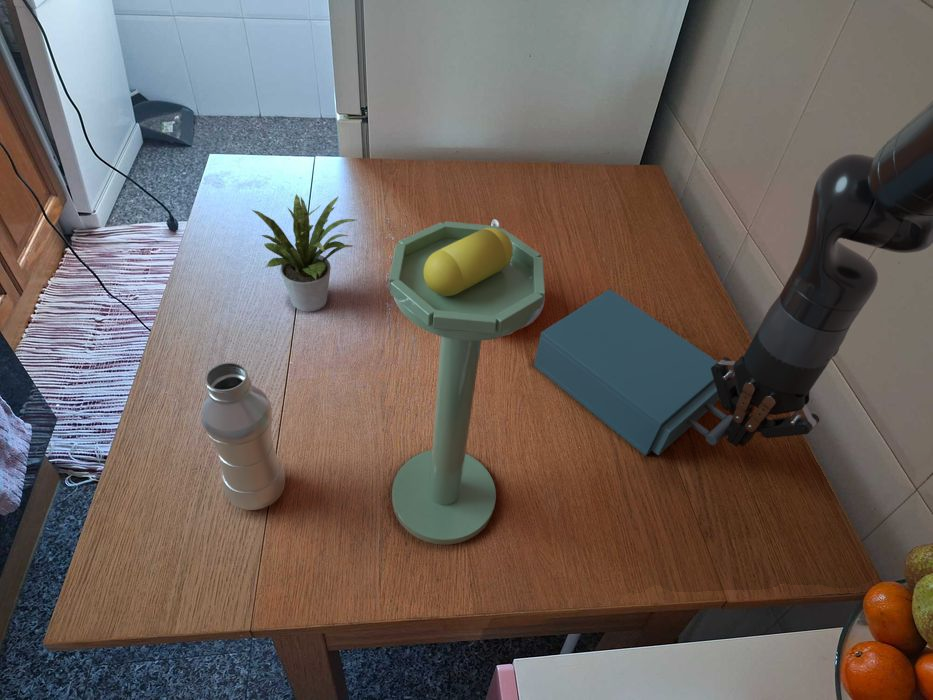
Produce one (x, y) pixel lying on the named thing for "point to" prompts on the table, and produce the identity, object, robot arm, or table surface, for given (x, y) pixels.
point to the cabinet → (623, 367)
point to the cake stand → (456, 378)
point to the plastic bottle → (242, 437)
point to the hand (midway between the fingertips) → (735, 440)
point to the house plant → (304, 255)
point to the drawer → (693, 421)
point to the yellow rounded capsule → (467, 261)
